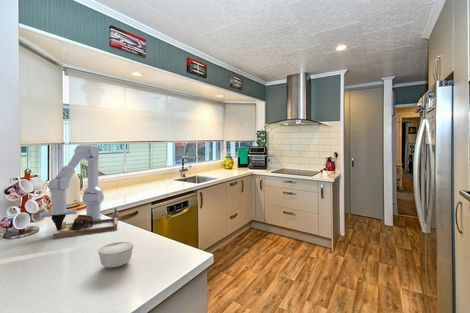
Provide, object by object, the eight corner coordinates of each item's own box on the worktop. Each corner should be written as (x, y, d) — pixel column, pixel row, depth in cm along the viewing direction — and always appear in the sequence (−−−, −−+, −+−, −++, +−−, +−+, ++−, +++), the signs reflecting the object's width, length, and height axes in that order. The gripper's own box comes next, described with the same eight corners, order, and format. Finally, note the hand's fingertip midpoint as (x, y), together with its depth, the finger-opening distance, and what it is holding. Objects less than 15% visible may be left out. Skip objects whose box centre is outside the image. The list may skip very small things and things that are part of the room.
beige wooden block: (64, 228, 117) (64, 220, 117) (71, 228, 119) (71, 219, 119) (60, 235, 108) (60, 226, 108) (68, 234, 109) (68, 225, 109)
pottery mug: (65, 230, 115) (72, 214, 119) (84, 234, 122) (90, 219, 126) (77, 229, 109) (84, 212, 113) (96, 233, 116) (102, 217, 120)
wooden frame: (61, 227, 120) (60, 213, 120) (118, 220, 133) (118, 207, 133) (53, 238, 104) (53, 221, 104) (119, 229, 117) (119, 214, 117)
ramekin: (125, 252, 89) (124, 239, 89) (139, 260, 82) (139, 246, 82) (93, 262, 80) (93, 248, 80) (106, 273, 73) (105, 256, 73)
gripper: (37, 205, 105) (37, 235, 105) (75, 202, 112) (75, 230, 112) (41, 203, 111) (41, 230, 111) (77, 200, 118) (77, 226, 118)
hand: (59, 230), depth 112 cm, fingers closed
